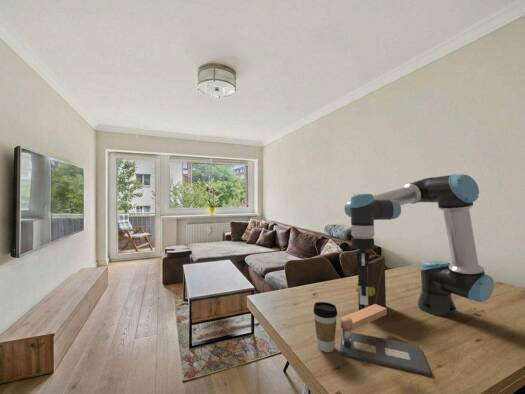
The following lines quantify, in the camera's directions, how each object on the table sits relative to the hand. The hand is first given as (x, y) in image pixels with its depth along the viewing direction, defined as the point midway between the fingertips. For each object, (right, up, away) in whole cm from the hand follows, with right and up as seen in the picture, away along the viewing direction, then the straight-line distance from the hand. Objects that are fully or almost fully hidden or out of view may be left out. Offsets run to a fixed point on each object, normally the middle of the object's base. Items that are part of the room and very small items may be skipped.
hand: (363, 303), depth 82 cm
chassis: (+5, -16, -1) cm, 17 cm away
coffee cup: (-13, -17, +2) cm, 21 cm away
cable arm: (+3, -10, +7) cm, 12 cm away
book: (+17, -17, +29) cm, 38 cm away
